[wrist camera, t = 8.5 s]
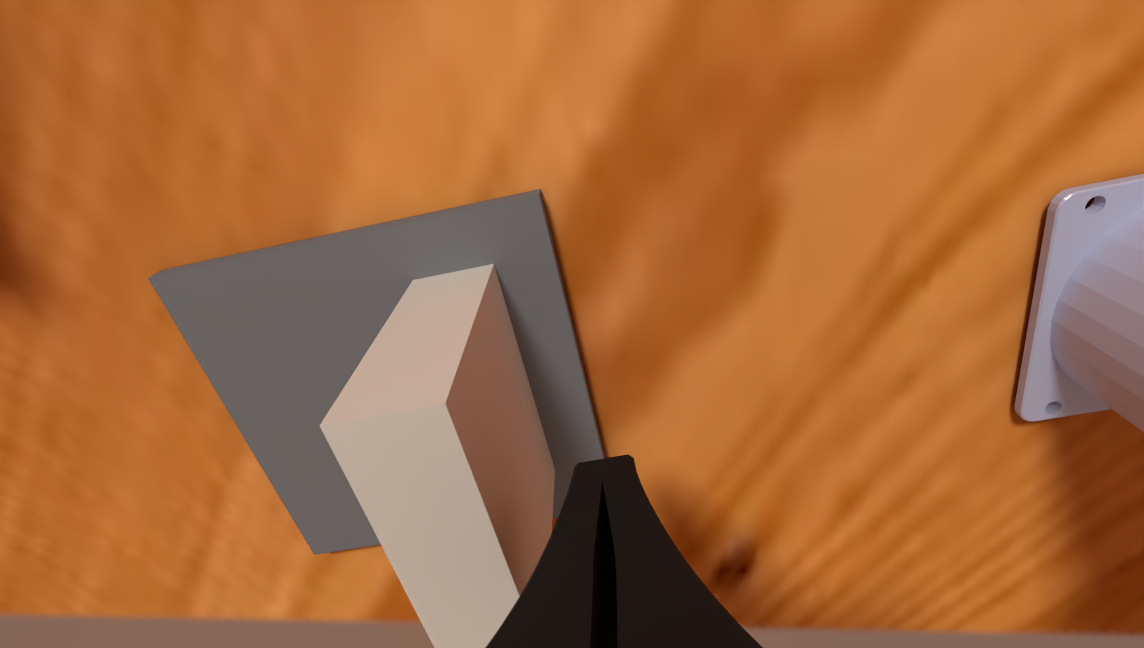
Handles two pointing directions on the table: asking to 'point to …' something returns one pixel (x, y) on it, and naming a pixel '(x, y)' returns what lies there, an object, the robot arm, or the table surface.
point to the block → (449, 454)
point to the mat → (369, 340)
